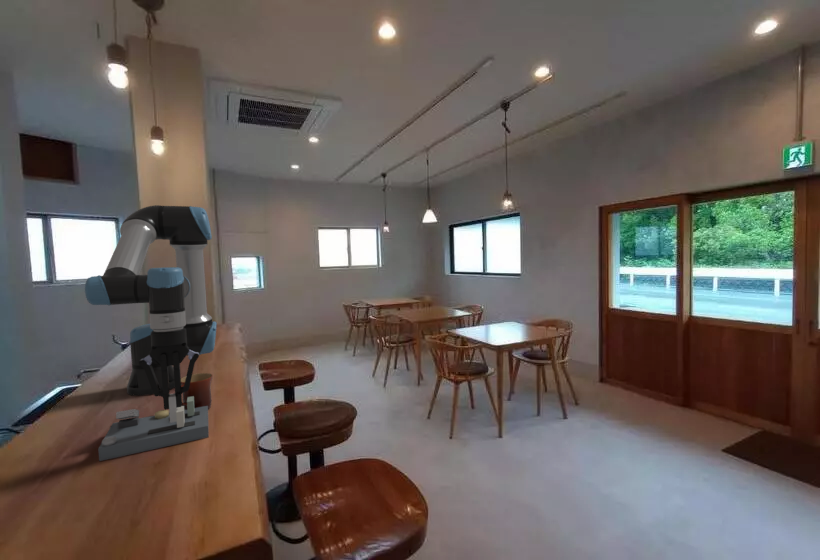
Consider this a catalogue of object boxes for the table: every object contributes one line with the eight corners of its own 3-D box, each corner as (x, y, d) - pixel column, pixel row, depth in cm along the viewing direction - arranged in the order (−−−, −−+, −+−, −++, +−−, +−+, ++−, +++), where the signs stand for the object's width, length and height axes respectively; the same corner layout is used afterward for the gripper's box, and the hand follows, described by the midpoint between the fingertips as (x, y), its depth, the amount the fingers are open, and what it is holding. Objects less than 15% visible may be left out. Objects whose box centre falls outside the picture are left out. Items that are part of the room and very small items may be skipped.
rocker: (122, 419, 98) (122, 412, 98) (139, 416, 100) (139, 409, 100) (116, 418, 91) (116, 411, 92) (133, 415, 93) (133, 408, 93)
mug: (196, 404, 117) (194, 372, 116) (220, 405, 115) (219, 373, 115) (164, 420, 105) (162, 385, 105) (190, 423, 103) (188, 387, 103)
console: (113, 434, 97) (112, 417, 97) (208, 415, 108) (207, 400, 108) (99, 461, 84) (97, 442, 84) (208, 437, 95) (207, 420, 95)
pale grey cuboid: (178, 421, 96) (177, 406, 96) (184, 420, 97) (184, 405, 97) (177, 427, 93) (176, 412, 93) (184, 426, 94) (183, 411, 93)
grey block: (188, 411, 103) (187, 397, 103) (194, 410, 104) (193, 396, 103) (187, 416, 99) (186, 402, 99) (194, 415, 100) (193, 400, 100)
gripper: (134, 334, 86) (140, 432, 88) (198, 328, 92) (202, 420, 94) (139, 329, 93) (145, 420, 94) (198, 323, 99) (203, 409, 100)
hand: (173, 420), depth 94 cm, fingers closed
